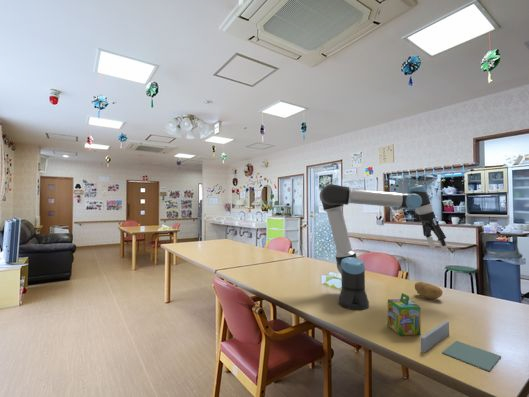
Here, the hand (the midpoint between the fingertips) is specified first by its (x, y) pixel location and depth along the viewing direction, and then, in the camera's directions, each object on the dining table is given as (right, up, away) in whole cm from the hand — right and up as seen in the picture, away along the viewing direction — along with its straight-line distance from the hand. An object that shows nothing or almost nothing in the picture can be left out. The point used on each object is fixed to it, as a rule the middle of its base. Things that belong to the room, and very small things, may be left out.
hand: (439, 249), depth 146 cm
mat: (-24, -26, -54) cm, 65 cm away
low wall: (-31, -26, -45) cm, 60 cm away
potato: (-5, -27, +1) cm, 28 cm away
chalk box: (-38, -27, -35) cm, 58 cm away
